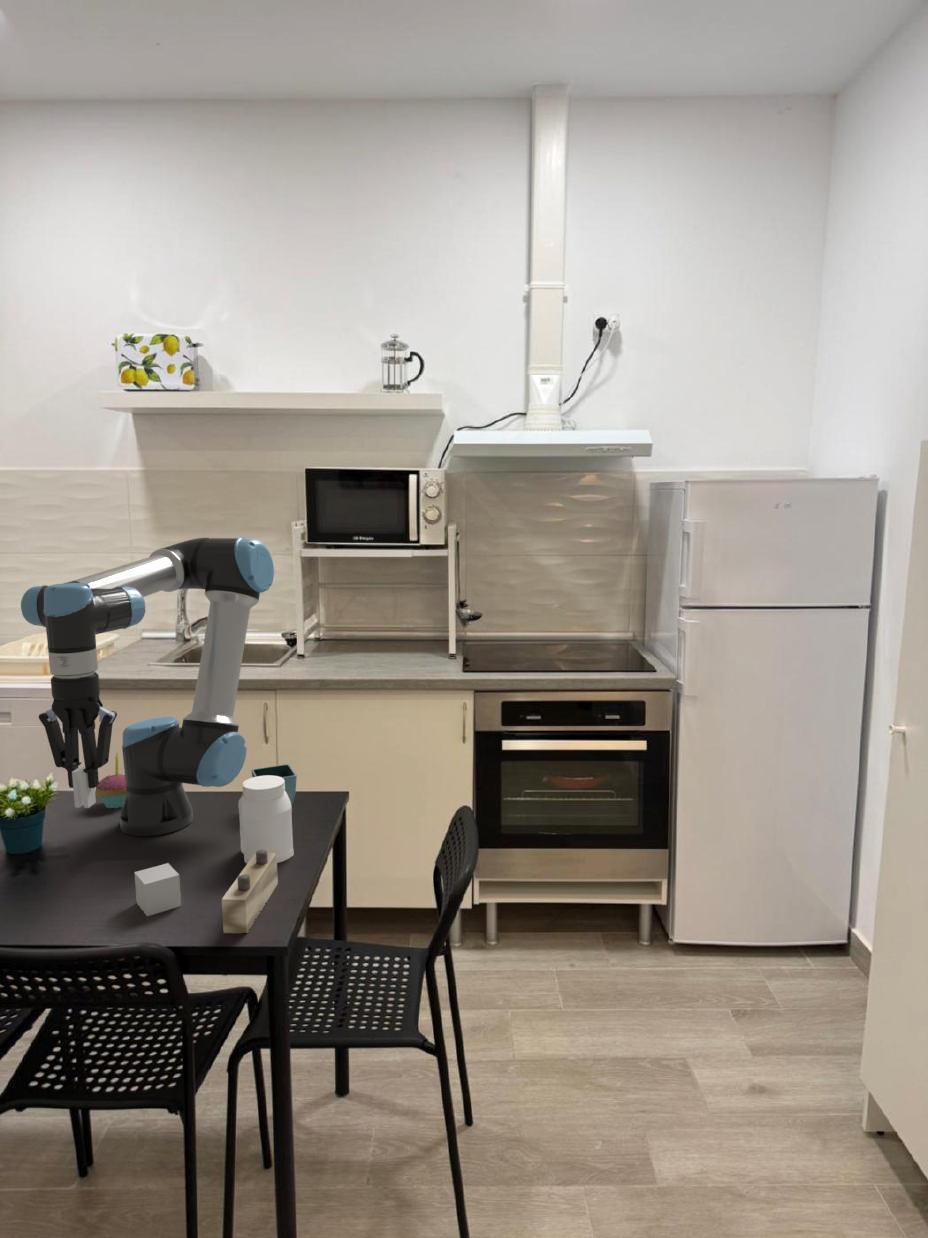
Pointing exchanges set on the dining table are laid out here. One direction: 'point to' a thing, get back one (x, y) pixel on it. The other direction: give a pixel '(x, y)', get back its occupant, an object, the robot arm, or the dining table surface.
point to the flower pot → (284, 773)
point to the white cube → (157, 889)
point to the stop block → (249, 892)
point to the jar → (265, 818)
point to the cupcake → (112, 789)
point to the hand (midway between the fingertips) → (85, 804)
